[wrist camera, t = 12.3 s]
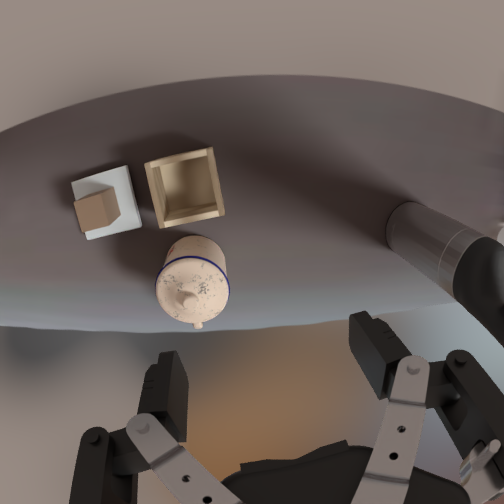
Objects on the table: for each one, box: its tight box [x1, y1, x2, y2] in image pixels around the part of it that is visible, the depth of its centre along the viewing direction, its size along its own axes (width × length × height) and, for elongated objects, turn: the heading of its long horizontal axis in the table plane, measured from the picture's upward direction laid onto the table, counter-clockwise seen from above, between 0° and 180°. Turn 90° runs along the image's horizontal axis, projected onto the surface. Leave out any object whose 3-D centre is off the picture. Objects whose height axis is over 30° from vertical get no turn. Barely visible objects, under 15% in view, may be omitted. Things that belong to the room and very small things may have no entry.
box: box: [144, 147, 225, 229], centre depth 36 cm, size 8×8×6 cm
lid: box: [71, 165, 142, 240], centre depth 35 cm, size 9×9×7 cm
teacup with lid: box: [155, 236, 230, 329], centre depth 39 cm, size 12×9×12 cm
